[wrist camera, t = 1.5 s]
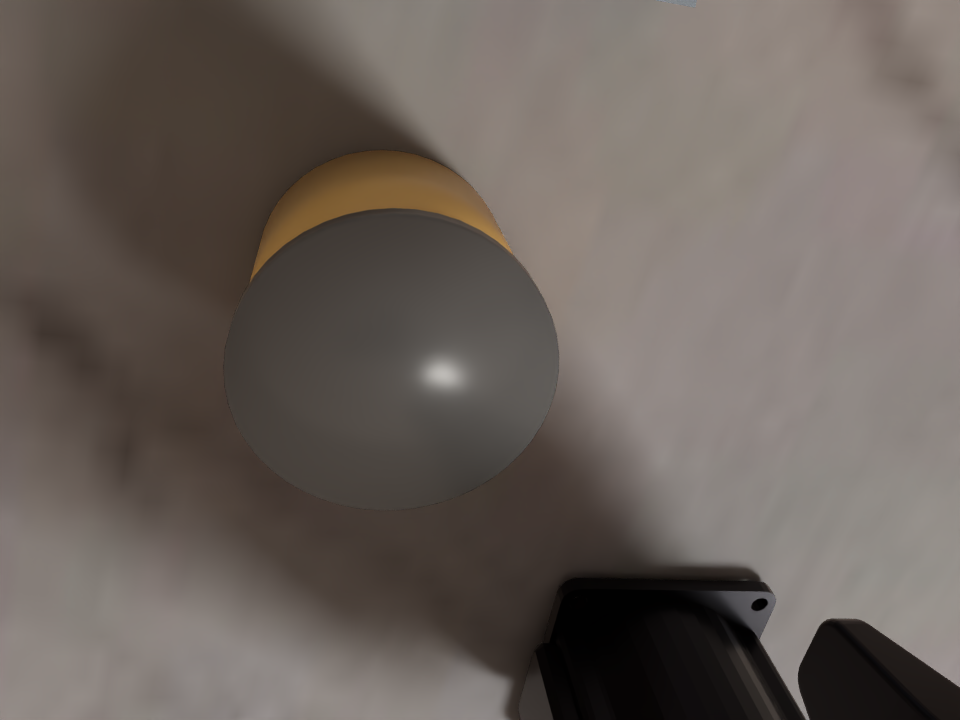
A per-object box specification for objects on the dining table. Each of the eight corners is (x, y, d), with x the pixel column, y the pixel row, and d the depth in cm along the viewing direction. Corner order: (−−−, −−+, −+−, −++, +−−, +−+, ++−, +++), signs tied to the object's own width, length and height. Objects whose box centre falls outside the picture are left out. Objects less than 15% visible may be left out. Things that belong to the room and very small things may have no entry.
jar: (530, 163, 16) (592, 240, 12) (485, 390, 19) (524, 516, 15) (258, 126, 15) (227, 196, 11) (248, 373, 17) (220, 504, 13)
